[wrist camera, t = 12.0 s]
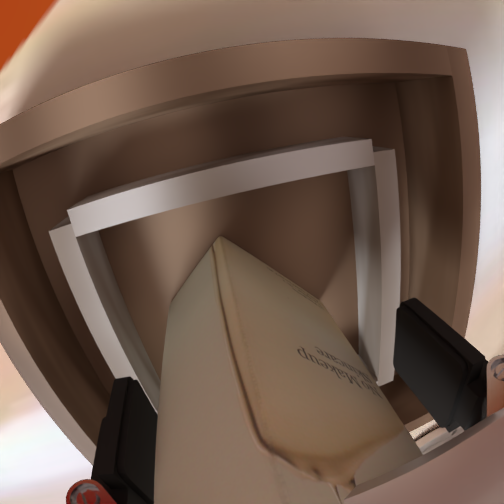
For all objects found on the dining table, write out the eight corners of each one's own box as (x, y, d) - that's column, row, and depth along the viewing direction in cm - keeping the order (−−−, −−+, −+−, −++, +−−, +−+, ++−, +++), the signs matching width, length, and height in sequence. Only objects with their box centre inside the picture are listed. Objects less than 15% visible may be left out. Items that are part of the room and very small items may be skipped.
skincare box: (321, 299, 16) (473, 509, 5) (266, 362, 17) (349, 582, 5) (214, 229, 14) (310, 549, 2) (160, 308, 14) (150, 595, 3)
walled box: (397, 62, 13) (465, 48, 9) (406, 370, 21) (442, 414, 16) (-2, 152, 11) (-66, 165, 7) (135, 444, 19) (132, 503, 14)
